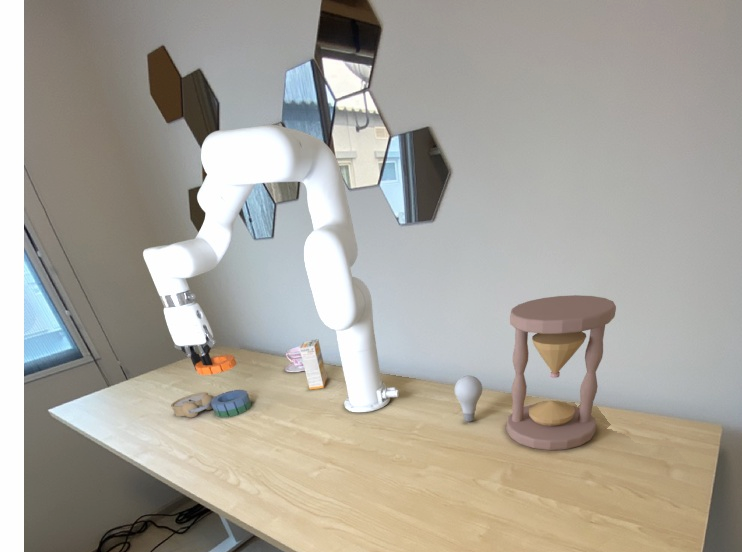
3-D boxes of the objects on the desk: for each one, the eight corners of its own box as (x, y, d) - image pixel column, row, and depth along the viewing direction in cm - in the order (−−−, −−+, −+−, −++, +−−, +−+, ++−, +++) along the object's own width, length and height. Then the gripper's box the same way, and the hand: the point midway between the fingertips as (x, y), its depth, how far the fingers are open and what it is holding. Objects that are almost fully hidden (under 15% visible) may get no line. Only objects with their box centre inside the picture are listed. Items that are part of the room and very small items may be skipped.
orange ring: (242, 360, 119) (240, 353, 118) (225, 373, 110) (222, 366, 109) (210, 362, 121) (207, 356, 120) (190, 376, 112) (187, 369, 111)
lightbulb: (485, 416, 97) (485, 371, 90) (478, 428, 92) (478, 382, 86) (460, 414, 99) (458, 371, 93) (452, 426, 95) (450, 381, 89)
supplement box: (324, 388, 127) (314, 346, 119) (309, 390, 127) (298, 348, 120) (327, 378, 133) (318, 338, 126) (313, 380, 134) (303, 340, 127)
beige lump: (198, 391, 132) (217, 390, 122) (205, 405, 135) (224, 406, 124) (164, 404, 126) (182, 405, 116) (172, 419, 128) (190, 421, 118)
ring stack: (257, 401, 126) (253, 388, 124) (240, 416, 118) (236, 403, 115) (227, 402, 129) (222, 390, 126) (209, 418, 120) (203, 405, 118)
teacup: (322, 359, 151) (318, 343, 148) (311, 371, 142) (307, 354, 138) (292, 362, 154) (288, 345, 150) (280, 374, 144) (275, 356, 141)
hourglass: (600, 415, 89) (621, 293, 75) (588, 456, 77) (610, 320, 63) (518, 408, 98) (523, 296, 84) (496, 444, 86) (498, 321, 72)
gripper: (212, 294, 107) (236, 362, 118) (161, 300, 111) (188, 365, 121) (196, 300, 101) (222, 372, 112) (142, 306, 105) (173, 375, 116)
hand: (204, 368), depth 116 cm, fingers closed on orange ring, 2 cm apart
